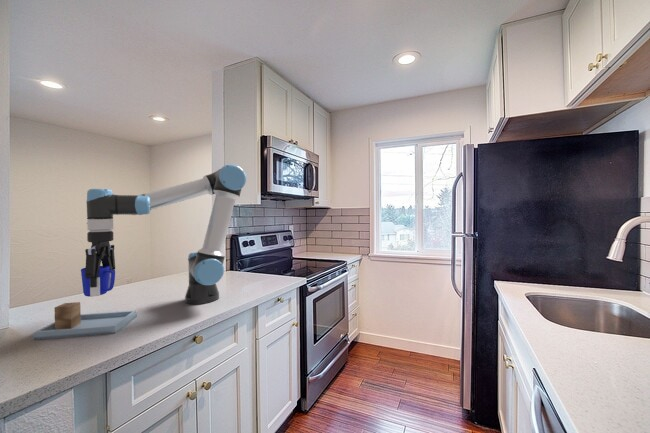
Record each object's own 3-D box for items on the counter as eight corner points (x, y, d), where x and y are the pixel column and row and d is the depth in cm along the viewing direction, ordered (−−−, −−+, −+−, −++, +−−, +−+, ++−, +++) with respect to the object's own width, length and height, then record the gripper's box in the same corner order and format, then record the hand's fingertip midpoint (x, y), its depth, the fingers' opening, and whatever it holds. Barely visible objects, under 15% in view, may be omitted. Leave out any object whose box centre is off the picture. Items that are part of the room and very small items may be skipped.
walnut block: (80, 323, 104) (80, 302, 104) (71, 328, 99) (70, 306, 99) (65, 324, 103) (64, 303, 103) (55, 330, 98) (54, 307, 98)
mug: (103, 299, 97) (102, 270, 97) (75, 297, 99) (74, 269, 99) (124, 292, 105) (123, 266, 105) (97, 291, 107) (97, 265, 107)
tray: (136, 316, 113) (136, 310, 113) (115, 333, 97) (115, 326, 97) (67, 321, 108) (67, 315, 108) (33, 340, 92) (33, 332, 92)
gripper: (104, 229, 112) (105, 286, 112) (69, 232, 92) (71, 301, 93) (125, 229, 113) (126, 285, 114) (95, 232, 94) (96, 300, 94)
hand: (101, 292), depth 103 cm, fingers closed on mug, 7 cm apart
